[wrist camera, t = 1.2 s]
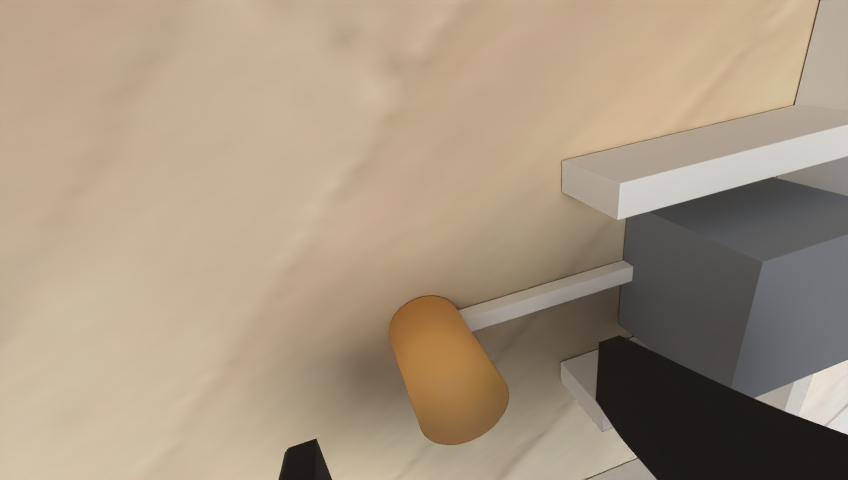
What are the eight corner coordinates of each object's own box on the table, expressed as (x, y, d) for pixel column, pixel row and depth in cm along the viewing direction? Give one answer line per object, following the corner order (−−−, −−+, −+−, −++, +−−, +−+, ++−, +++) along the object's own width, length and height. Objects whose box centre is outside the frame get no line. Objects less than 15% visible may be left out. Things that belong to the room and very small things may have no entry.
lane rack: (727, 433, 22) (775, 475, 20) (559, 503, 20) (593, 558, 18) (901, -217, 11) (1055, -285, 9) (563, -202, 9) (653, -284, 7)
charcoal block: (722, 287, 17) (852, 357, 13) (402, 395, 14) (445, 525, 10) (747, 170, 15) (913, 212, 11) (373, 272, 12) (415, 377, 8)
